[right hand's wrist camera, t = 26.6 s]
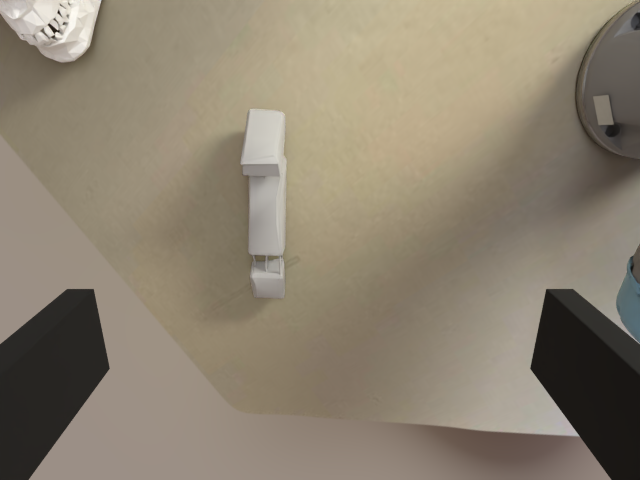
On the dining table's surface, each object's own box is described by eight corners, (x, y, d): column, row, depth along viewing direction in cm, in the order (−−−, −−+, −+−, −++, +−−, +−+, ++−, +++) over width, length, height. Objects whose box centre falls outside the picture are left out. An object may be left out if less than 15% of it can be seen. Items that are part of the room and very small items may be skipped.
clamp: (248, 106, 42) (235, 119, 36) (287, 107, 42) (280, 120, 36) (256, 281, 51) (246, 315, 45) (287, 282, 51) (282, 316, 45)
